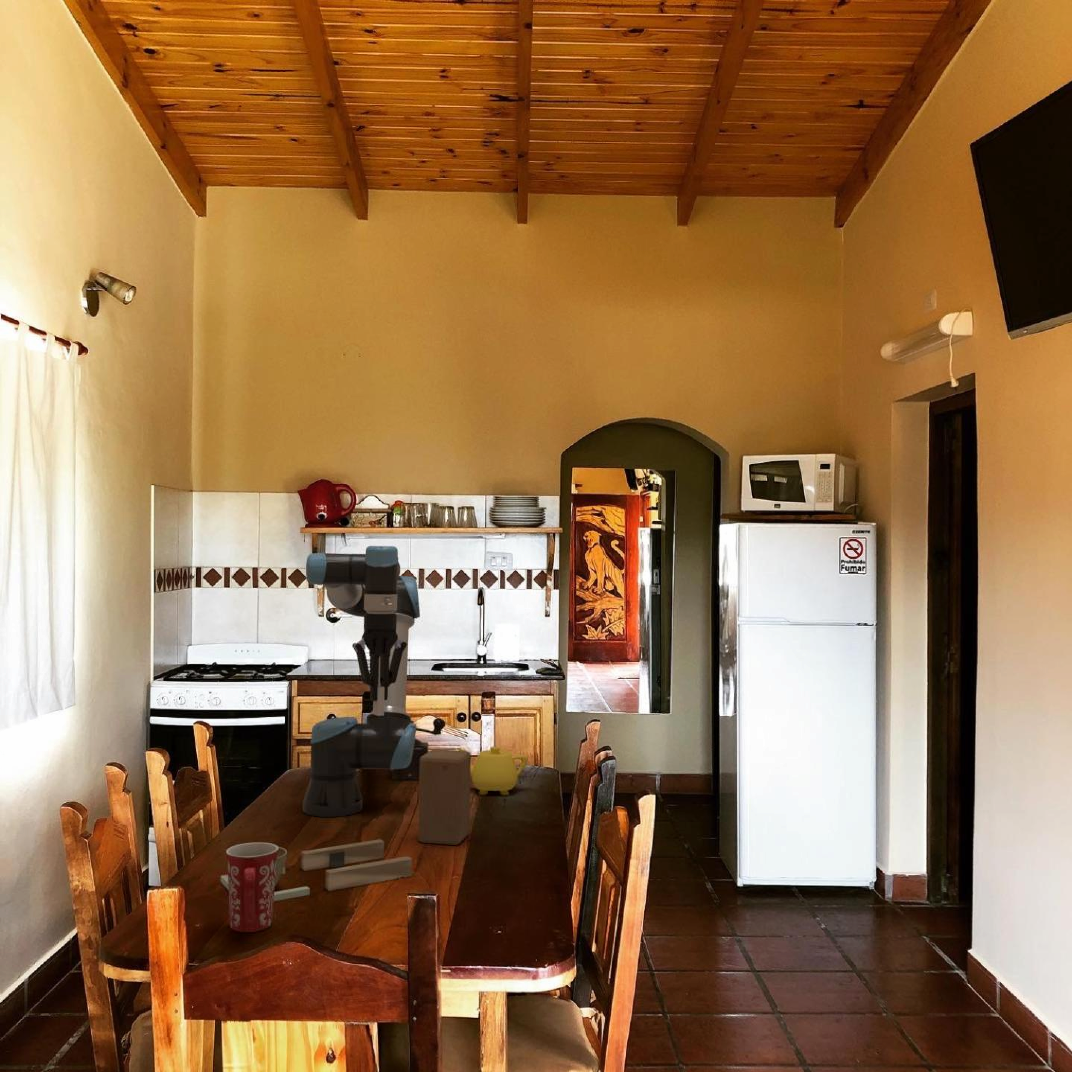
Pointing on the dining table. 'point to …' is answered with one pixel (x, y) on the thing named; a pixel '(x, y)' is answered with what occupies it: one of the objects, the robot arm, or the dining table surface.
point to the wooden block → (444, 796)
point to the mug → (251, 885)
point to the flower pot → (280, 863)
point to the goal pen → (280, 894)
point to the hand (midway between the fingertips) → (378, 714)
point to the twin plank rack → (356, 873)
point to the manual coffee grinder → (418, 754)
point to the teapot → (496, 770)
